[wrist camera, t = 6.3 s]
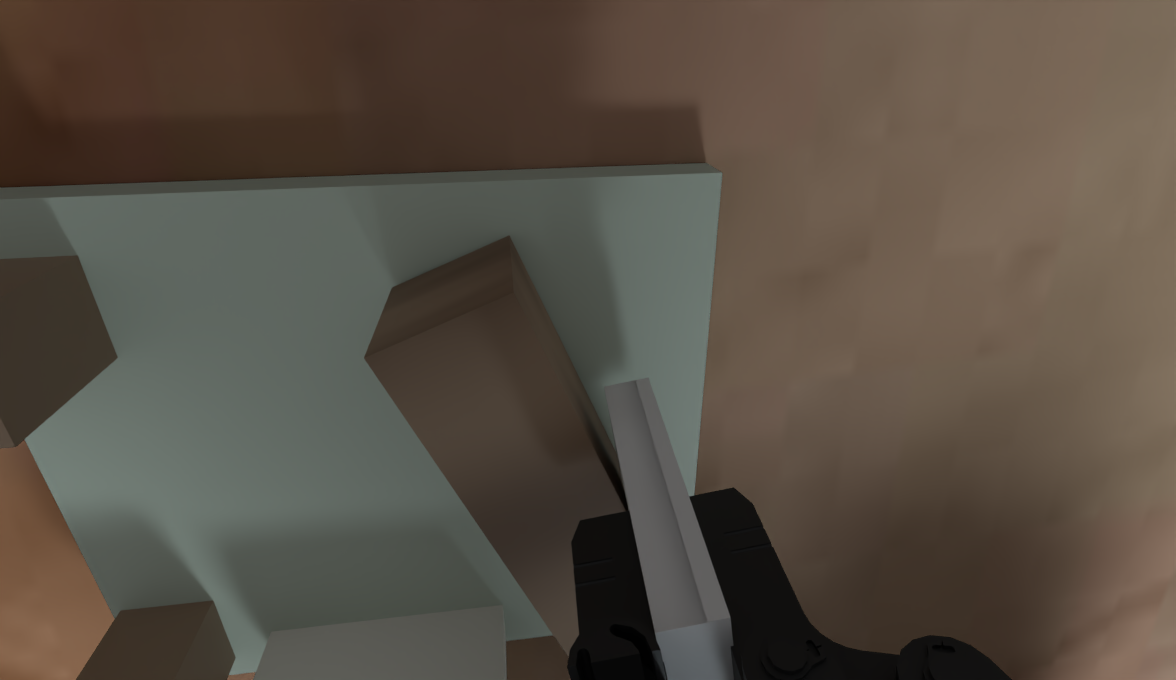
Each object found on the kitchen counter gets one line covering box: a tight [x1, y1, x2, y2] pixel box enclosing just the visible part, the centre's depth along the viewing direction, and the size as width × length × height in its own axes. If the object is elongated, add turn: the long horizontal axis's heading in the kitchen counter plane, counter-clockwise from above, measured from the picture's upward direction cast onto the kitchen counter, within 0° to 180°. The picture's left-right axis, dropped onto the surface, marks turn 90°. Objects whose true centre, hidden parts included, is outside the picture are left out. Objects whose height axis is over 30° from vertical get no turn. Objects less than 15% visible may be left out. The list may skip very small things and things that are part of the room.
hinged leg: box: [364, 235, 629, 657], centre depth 15 cm, size 12×3×4 cm, turn 22°
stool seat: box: [0, 163, 722, 680], centre depth 16 cm, size 17×15×5 cm
